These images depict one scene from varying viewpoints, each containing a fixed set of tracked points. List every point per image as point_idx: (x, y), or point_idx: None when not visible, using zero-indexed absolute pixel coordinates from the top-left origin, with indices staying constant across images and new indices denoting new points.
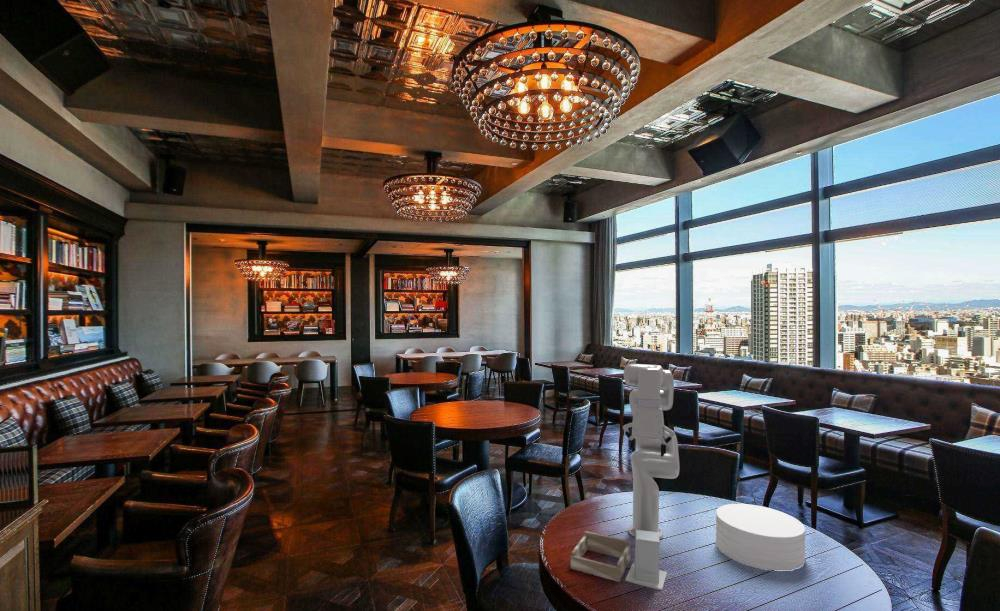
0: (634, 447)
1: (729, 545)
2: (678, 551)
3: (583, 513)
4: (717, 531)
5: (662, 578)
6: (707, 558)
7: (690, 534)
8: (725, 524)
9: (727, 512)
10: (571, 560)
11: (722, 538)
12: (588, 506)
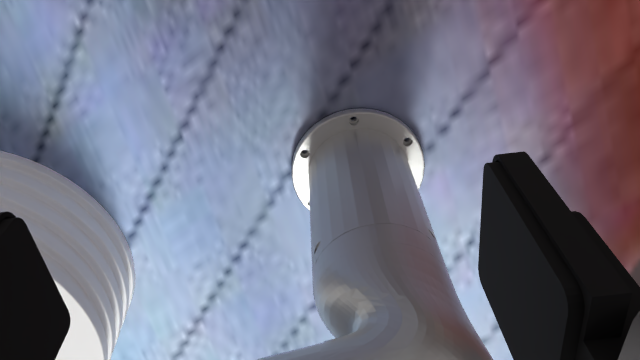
0: (505, 242)
1: (34, 197)
2: (206, 105)
3: (621, 191)
4: (91, 250)
5: None
6: (101, 115)
7: (218, 250)
8: None
9: None
10: None
11: (61, 217)
12: None
